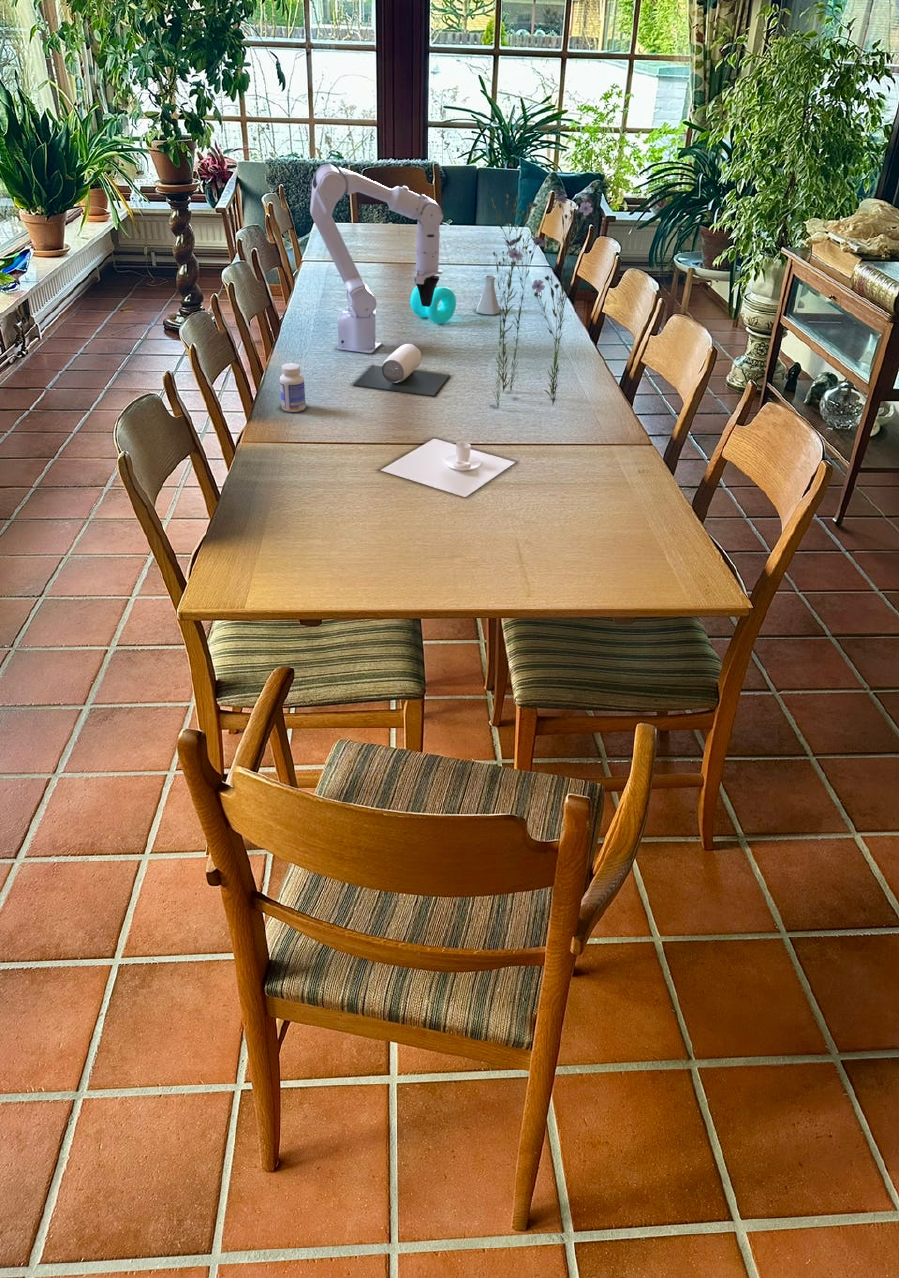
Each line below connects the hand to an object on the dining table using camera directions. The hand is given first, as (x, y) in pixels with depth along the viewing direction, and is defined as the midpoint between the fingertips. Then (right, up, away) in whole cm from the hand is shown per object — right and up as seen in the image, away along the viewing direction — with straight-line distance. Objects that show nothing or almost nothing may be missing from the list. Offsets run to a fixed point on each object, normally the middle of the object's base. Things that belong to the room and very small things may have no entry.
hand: (426, 305), depth 257 cm
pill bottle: (-29, -35, -34) cm, 56 cm away
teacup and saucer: (+6, -52, -56) cm, 76 cm away
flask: (+17, +9, +33) cm, 39 cm away
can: (-4, -16, -12) cm, 21 cm away
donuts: (+1, +4, +24) cm, 25 cm away
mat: (-5, -24, -17) cm, 30 cm away
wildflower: (+24, -31, -24) cm, 46 cm away
